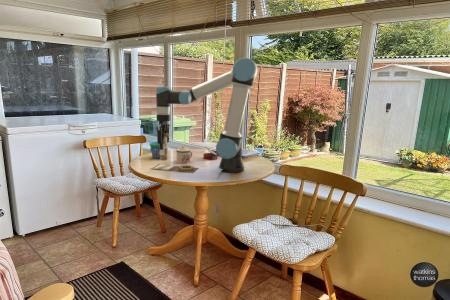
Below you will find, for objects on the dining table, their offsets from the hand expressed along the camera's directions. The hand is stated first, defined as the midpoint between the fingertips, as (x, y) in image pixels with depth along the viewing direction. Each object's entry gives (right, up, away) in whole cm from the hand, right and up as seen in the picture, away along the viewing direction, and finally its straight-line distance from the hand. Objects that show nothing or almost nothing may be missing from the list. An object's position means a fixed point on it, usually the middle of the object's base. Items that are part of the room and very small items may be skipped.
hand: (163, 154), depth 178 cm
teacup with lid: (+10, -6, +20) cm, 23 cm away
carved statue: (0, -3, +1) cm, 3 cm away
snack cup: (-11, -3, +33) cm, 35 cm away
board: (+7, -10, +1) cm, 12 cm away
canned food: (+26, -4, +36) cm, 44 cm away
